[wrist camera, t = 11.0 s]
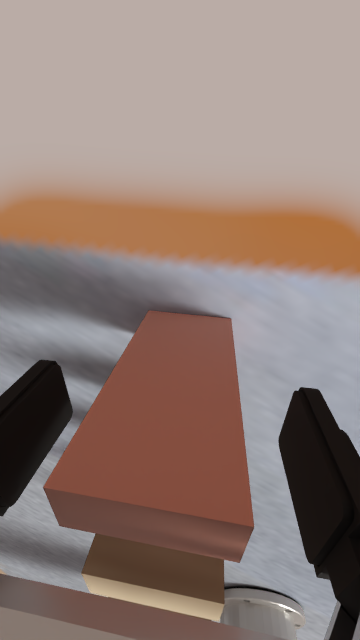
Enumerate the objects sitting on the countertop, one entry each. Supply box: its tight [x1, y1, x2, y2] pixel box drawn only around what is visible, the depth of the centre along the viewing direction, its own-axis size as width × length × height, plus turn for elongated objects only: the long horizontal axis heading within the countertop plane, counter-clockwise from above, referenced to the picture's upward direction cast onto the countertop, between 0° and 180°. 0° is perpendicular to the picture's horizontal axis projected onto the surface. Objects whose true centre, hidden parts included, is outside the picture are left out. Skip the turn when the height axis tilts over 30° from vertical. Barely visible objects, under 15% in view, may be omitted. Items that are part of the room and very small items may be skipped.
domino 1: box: [43, 310, 254, 563], centre depth 10 cm, size 2×5×10 cm, turn 88°
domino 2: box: [81, 534, 225, 621], centre depth 13 cm, size 2×5×10 cm, turn 89°
